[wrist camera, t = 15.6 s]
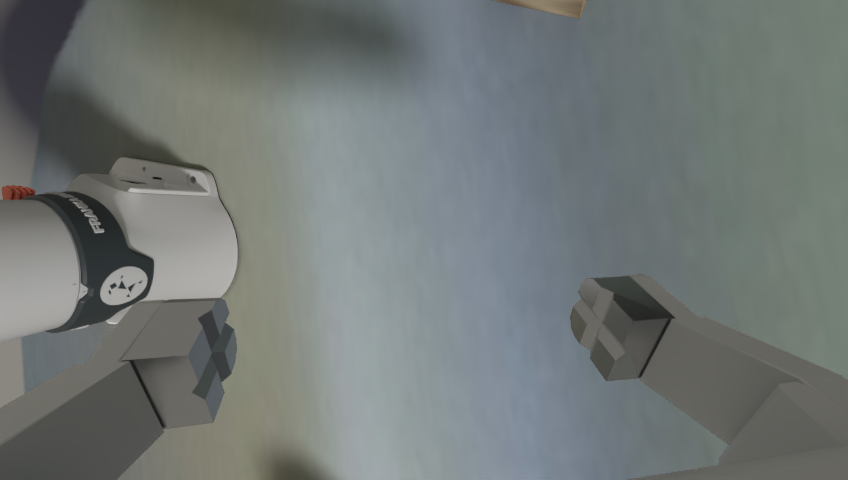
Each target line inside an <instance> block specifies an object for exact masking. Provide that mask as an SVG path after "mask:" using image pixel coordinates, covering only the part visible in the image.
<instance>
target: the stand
mask: <svg viewBox="0 0 848 480" xmlns="http://www.w3.org/2000/svg"><path fill="white" fill-rule="evenodd" d="M493 1H498V2H502V3H507V4H512V5H517V6H521V7H526V8H531V9H536V10H541V11H545V12H550V13H555V14H560V15H564V16H569V17H574V18H579V19H580V16H581V14H582V11H583V9H584V6H585V4H586V1H587V0H493Z"/></svg>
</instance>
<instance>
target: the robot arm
mask: <svg viewBox="0 0 848 480" xmlns="http://www.w3.org/2000/svg"><path fill="white" fill-rule="evenodd" d="M2 195H3V200H0V343H2V342H5V341H9V340H13V339H16V338H20V337H24V336H27V335H31V334H35V333H39V332H43V331H46V332H50V333H58V332H62V331H67V330H75V329H80V328H84V327H88V326H89V325H91V324H95V323H99V322H103V321H107V323H110V324H117V323H118V324H117V325H116V326H115V327H114V329H113V330H112V331H111V332H110V334H109V335H108V336H107V337H106V338H105V340H104V341H103V342H102V343H101V345H100V346H99V347H98V348H97V349H96V351H95V352H94V353H93V354H92V356H91V357H90V358H89V359H88V361H87V362H86V363H85V364H84V365H74V366H72V367H70V368H69V369H67V370H65V371H63V372H62V373H60V374H58V375H57V376H55V377H53V378H51V379H50V380H48V381H46V382H44V383H43V384H41V385H39V386H37V387H36V388H34V389H32V390H30V391H29V392H27V393H25V394H24V395H22V396H20V397H18V398H17V399H15V400H13V401H11V402H10V403H8V404H6V405H4V406H3V407H1V408H0V480H117V479H118V478H119V477H120V476H121V475H122V474H123V473H124V472H125V471H126V470H127V469H128V468H129V467H130V466H131V465H132V464H133V463H134V462H135V461H136V460H137V459H138V458H139V457H140V456H141V455H142V454H143V453H144V452H145V451H146V450H147V449H148V448H149V447H150V446H151V445H152V444H153V443H154V442H155V441H156V440H157V439H158V438H159V437H160V436H161V435H162V434H163V433H164V430H163V429H170V428H177V427H185V426H192V425H200V424H207V423H214V420H215V417H216V414H217V412H218V409H219V406H220V404H221V401H222V398H223V395H224V393H225V392H224V389H223V386H222V383H221V382H222V381H224V380H225V379H226V378H227V377H228V376H229V375H231V373H232V370H233V367H234V364H235V360H236V352H237V343H236V336H235V332H234V329H233V328H232V327H230V326H229V325H228V324H226V323H225V322H226V320H227V317H228V315H229V310H228V307H227V304H226V301H225V300H223V299H222V298H220V297H221V296H222V295H223V294H224V293H225V292H226V291H227V289H228V288H229V286H230V284H231V282H232V280H233V278H234V275H235V271H236V267H237V259H238V246H237V239H236V234H235V230H234V227H233V224H232V221H231V219H230V217H229V215H228V213H227V211H226V210H225V208H224V206H223V205H222V203H221V201H220V199H219V197H218V192H217V187H216V183H215V180H214V178H213V176H212V174H211V173H210V172H208V171H205V170H199V169H193V168H187V167H182V166H176V165H170V164H165V163H159V162H153V161H147V160H142V159H136V158H124V157H121V158H119V159H118V160H117V161H116V162H115V164H114V165H113V167H112V169H111V171H110V173H109V174H92V173H86V174H81V175H79V176H78V177H76V178H75V179H74V181H73V182H72V183H71V184H70V186H69V187H68V188H67V190H66V191H65V192H46V193H43V194H39V195H35V190H33V189H31V188H27V187H22V186H6V187H4V186H3V187H2ZM578 293H579V295H580V297H581V299H580V300H579V301H578V302H577V303H576V304H575V305H574V306H573V309H572V312H571V316H570V320H571V329H572V331H573V334H574V336H575V338H576V339H577V341H578V342H579V344H581V345H582V346H584V347H586V348H587V349H589V350H591V352H590V359H591V361H592V362H593V363H594V365H595V366H596V368H597V369H598V370H599V372H600V373H601V375H602V376H603V377H604V379H605V380H606V381H614V380H627V379H640V378H641V379H640V381H641V382H643V383H644V384H645V385H647V386H648V387H650V388H651V389H652V390H654V391H655V392H657V393H658V394H659V395H661V396H662V397H663V398H665V399H666V400H668V401H669V402H670V403H672V404H673V405H675V406H676V407H677V408H679V409H680V410H681V411H683V412H684V413H686V414H687V415H688V416H690V417H691V418H693V419H694V420H695V421H697V422H698V423H699V424H701V425H702V426H704V427H705V428H706V429H708V430H709V431H711V432H712V433H713V434H715V435H716V436H717V437H719V438H720V439H722V440H723V441H724V442H726V443H727V444H729V446H728V447H727V449H726V450H725V451H724V452H723V454H722V455H721V456H720V457H719V465H716V466H710V467H704V468H697V469H691V470H684V471H678V472H672V473H665V474H659V475H653V476H646V477H640V478H634V479H627V480H848V380H847V379H845V378H844V377H843V376H841V375H839V374H837V373H835V372H832V371H830V370H827V369H825V368H823V367H820V366H818V365H816V364H813V363H811V362H809V361H806V360H804V359H802V358H799V357H797V356H795V355H792V354H790V353H788V352H785V351H783V350H781V349H778V348H776V347H774V346H771V345H769V344H767V343H764V342H762V341H760V340H757V339H755V338H753V337H750V336H748V335H746V334H743V333H741V332H739V331H736V330H734V329H732V328H729V327H727V326H725V325H722V324H720V323H718V322H715V321H713V320H711V319H708V318H706V317H697V316H696V315H695V314H694V313H693V312H691V311H690V310H689V309H688V308H687V307H686V306H684V305H683V304H682V303H681V302H680V301H678V300H677V299H676V298H675V297H674V296H672V295H671V294H670V293H669V292H668V291H666V290H665V289H664V288H663V287H662V286H661V285H659V284H658V283H657V282H656V281H655V280H653V279H652V278H651V277H649V276H647V275H644V274H637V275H625V276H619V277H602V278H586V279H585V280H584V281H583V282H582V283H581V285H580V288H579V291H578Z"/></svg>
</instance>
